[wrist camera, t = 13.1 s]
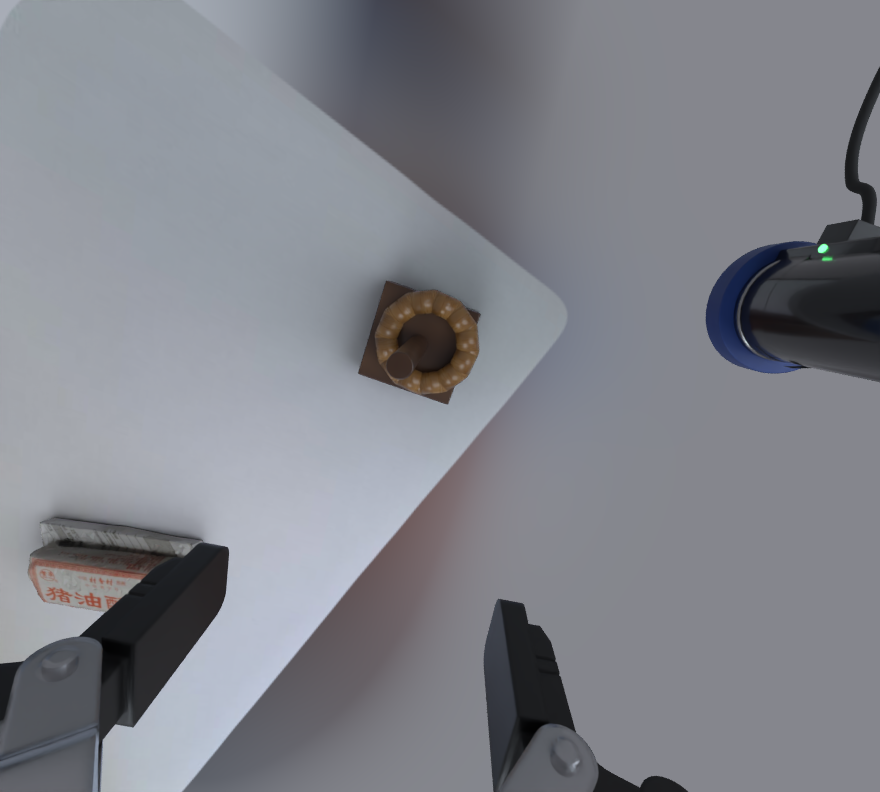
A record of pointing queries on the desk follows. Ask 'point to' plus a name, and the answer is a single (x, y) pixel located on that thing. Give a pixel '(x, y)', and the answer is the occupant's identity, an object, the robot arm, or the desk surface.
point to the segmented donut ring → (457, 320)
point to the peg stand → (412, 344)
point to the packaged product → (97, 561)
